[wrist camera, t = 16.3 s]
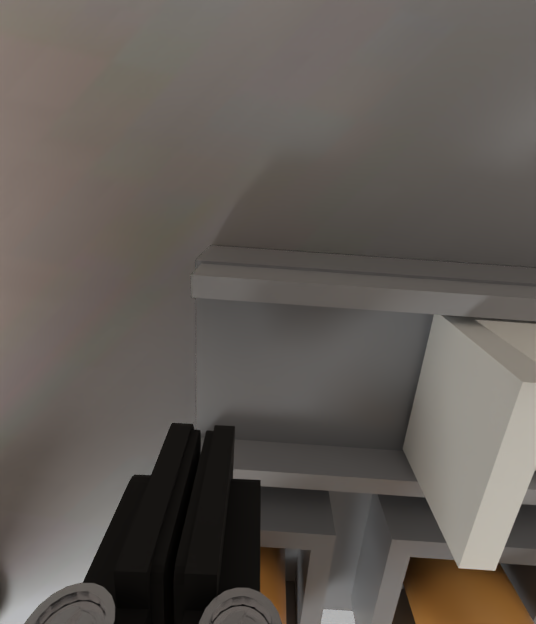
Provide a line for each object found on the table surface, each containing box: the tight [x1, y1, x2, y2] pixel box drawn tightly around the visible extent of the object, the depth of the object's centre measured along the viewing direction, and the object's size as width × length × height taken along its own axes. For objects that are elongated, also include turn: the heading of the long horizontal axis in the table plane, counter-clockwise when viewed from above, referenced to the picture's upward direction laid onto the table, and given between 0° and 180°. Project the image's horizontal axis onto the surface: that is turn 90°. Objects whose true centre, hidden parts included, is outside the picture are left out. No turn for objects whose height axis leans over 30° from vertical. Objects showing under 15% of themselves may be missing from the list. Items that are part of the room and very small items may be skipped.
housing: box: [191, 245, 536, 624], centre depth 12 cm, size 18×17×12 cm
